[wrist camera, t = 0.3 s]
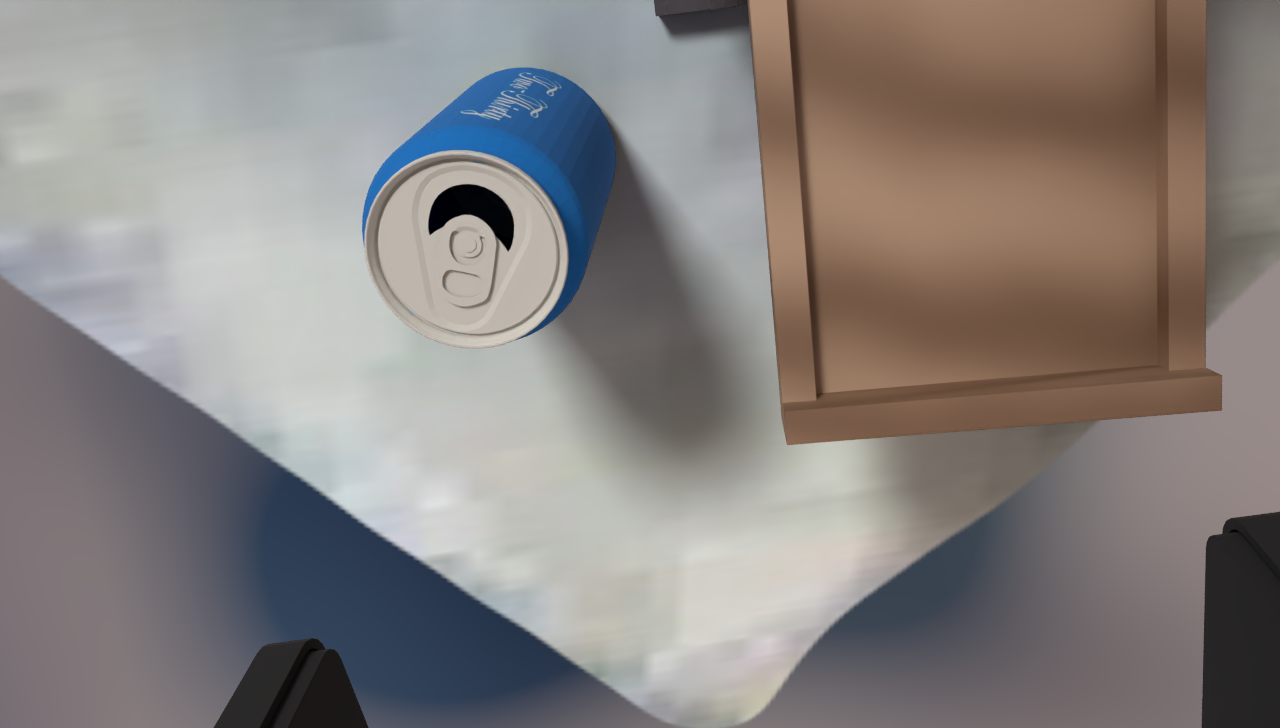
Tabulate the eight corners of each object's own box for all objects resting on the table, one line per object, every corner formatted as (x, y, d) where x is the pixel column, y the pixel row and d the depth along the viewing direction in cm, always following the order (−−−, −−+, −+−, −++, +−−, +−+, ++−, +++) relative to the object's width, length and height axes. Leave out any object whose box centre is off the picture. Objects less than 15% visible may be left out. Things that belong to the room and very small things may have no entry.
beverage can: (632, 84, 38) (604, 164, 27) (600, 250, 41) (562, 382, 30) (458, 46, 38) (357, 111, 27) (437, 215, 40) (339, 336, 29)
